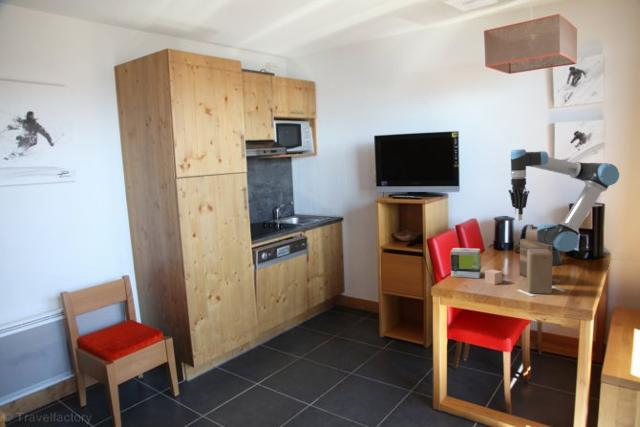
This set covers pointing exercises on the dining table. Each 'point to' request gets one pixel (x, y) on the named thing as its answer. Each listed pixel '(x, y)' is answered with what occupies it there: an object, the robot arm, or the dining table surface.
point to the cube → (493, 276)
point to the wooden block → (539, 271)
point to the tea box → (465, 262)
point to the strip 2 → (557, 288)
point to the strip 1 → (525, 292)
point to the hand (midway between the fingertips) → (519, 220)
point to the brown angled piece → (525, 246)
